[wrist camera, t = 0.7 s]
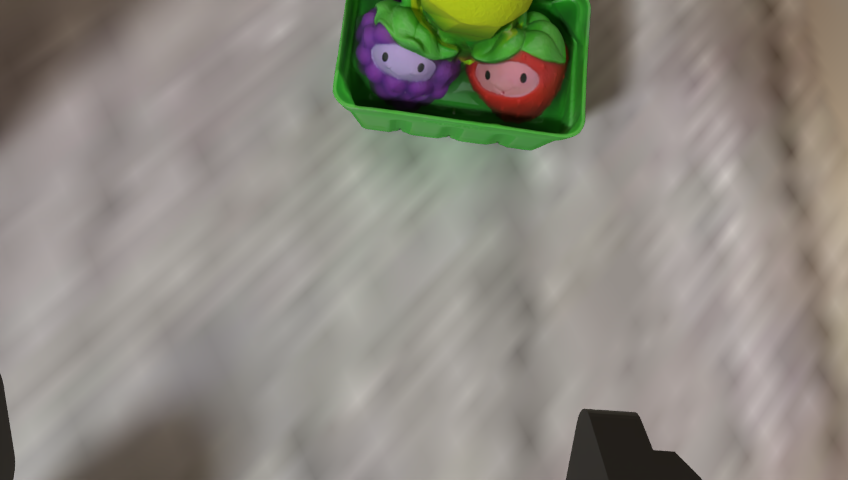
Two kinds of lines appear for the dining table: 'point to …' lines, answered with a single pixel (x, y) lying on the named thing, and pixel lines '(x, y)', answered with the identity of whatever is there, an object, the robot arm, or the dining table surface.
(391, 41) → the fruit basket
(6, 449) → the robot arm
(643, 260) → the dining table surface
